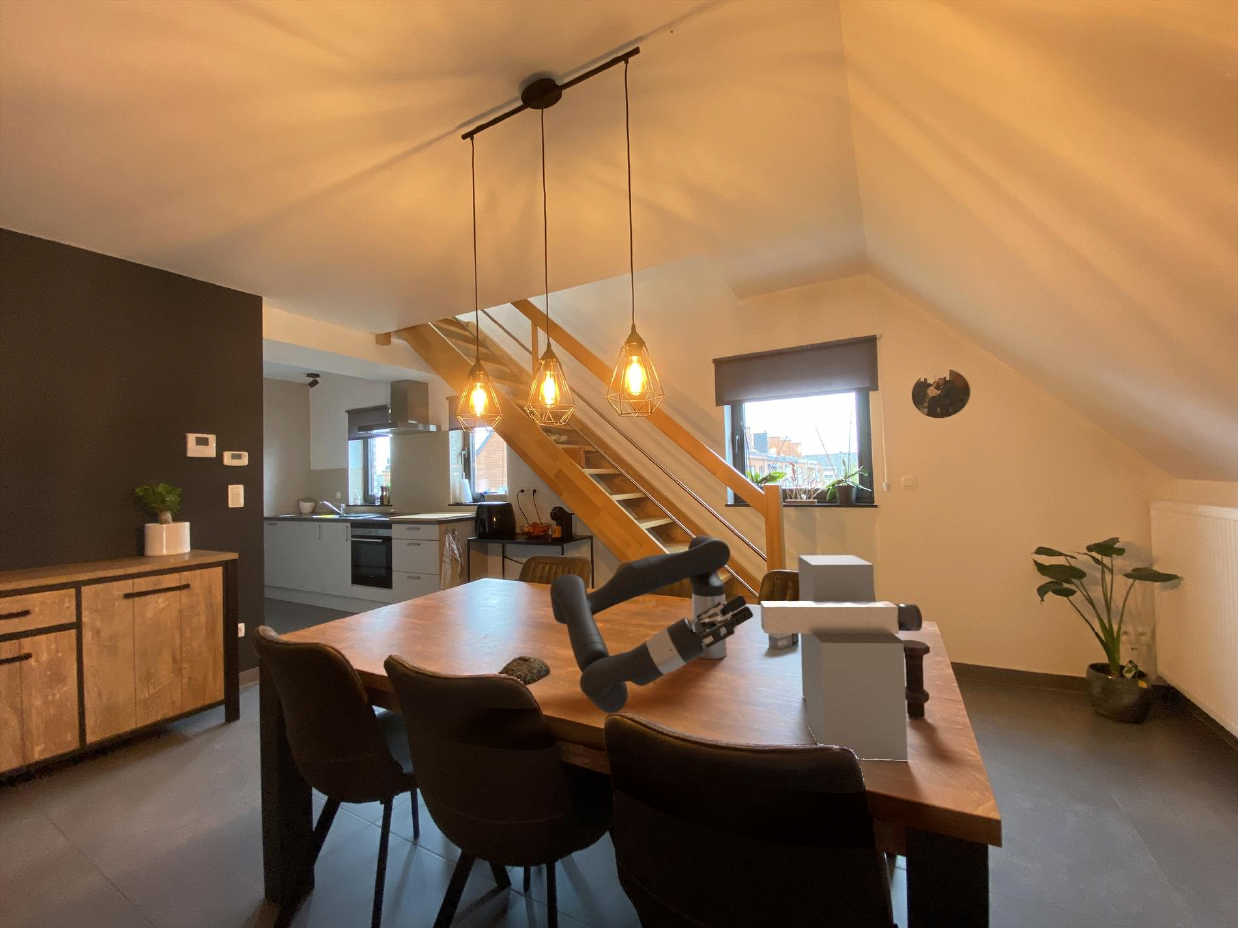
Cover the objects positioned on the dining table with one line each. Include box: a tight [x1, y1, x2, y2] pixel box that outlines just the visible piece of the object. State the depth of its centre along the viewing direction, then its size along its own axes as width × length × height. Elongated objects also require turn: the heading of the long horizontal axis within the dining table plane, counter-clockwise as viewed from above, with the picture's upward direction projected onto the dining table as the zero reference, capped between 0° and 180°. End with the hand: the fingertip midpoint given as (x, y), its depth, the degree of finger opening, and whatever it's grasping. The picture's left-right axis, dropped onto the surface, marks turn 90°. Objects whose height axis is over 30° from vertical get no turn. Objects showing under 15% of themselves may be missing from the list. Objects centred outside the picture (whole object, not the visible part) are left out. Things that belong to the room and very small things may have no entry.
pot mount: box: [797, 554, 908, 761], centre depth 104 cm, size 15×26×32 cm, turn 174°
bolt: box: [901, 639, 931, 720], centre depth 106 cm, size 6×5×15 cm
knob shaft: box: [760, 600, 923, 635], centre depth 97 cm, size 28×5×5 cm, turn 84°
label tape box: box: [767, 633, 800, 650], centre depth 151 cm, size 9×4×12 cm, turn 120°
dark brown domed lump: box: [497, 655, 551, 685], centre depth 134 cm, size 13×12×5 cm
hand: (747, 604), depth 99 cm, fingers open, 8 cm apart
